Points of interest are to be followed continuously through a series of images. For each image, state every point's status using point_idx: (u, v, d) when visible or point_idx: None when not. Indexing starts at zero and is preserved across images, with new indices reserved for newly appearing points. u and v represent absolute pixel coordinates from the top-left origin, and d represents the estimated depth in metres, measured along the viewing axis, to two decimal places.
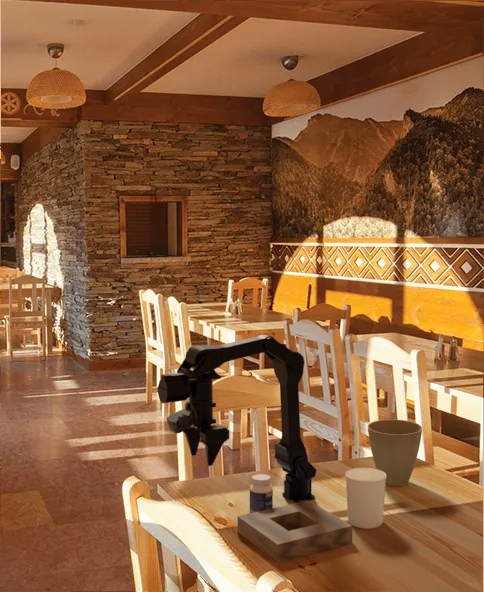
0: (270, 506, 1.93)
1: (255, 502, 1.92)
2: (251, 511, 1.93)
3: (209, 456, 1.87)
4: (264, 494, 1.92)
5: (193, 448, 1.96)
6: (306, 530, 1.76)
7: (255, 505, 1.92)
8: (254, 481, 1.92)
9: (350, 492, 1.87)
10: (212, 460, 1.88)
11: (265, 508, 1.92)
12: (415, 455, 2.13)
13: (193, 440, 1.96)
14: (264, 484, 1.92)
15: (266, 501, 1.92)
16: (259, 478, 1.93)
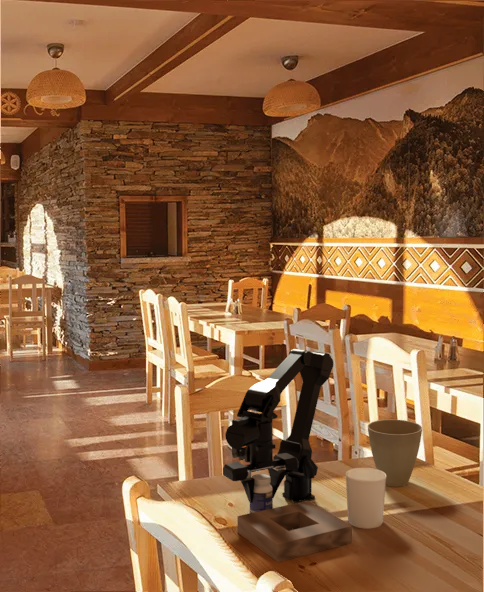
0: (270, 506, 1.93)
1: (255, 502, 1.92)
2: (251, 511, 1.93)
3: (245, 491, 1.93)
4: (264, 494, 1.92)
5: None
6: (306, 530, 1.76)
7: (255, 505, 1.92)
8: (254, 481, 1.92)
9: (350, 492, 1.87)
10: (249, 497, 1.92)
11: (265, 508, 1.92)
12: (415, 455, 2.13)
13: (272, 483, 1.95)
14: (264, 484, 1.92)
15: (266, 501, 1.92)
16: (259, 478, 1.93)
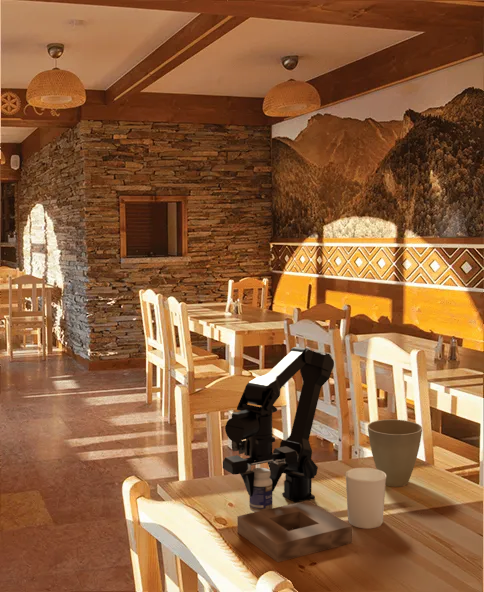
0: (270, 499, 1.93)
1: (255, 496, 1.92)
2: (251, 504, 1.93)
3: (245, 485, 1.93)
4: (264, 487, 1.91)
5: None
6: (306, 530, 1.76)
7: (255, 499, 1.92)
8: None
9: (350, 492, 1.87)
10: (248, 491, 1.92)
11: (265, 501, 1.92)
12: (415, 455, 2.13)
13: (272, 476, 1.95)
14: (264, 478, 1.92)
15: (265, 494, 1.92)
16: (259, 471, 1.93)
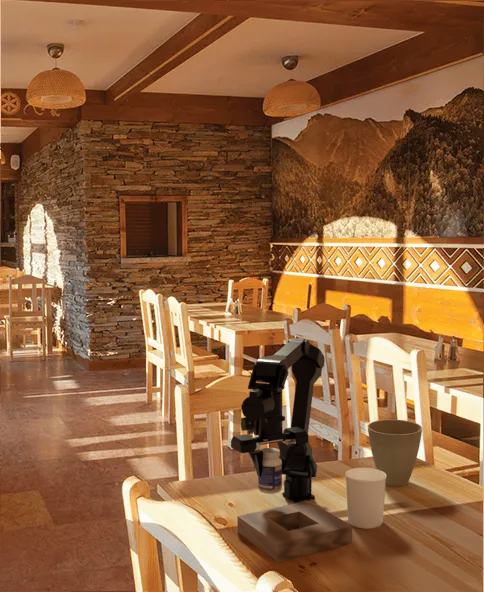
0: (279, 480, 1.88)
1: (263, 476, 1.87)
2: (260, 485, 1.88)
3: (254, 465, 1.88)
4: (273, 467, 1.86)
5: None
6: (306, 530, 1.76)
7: (264, 479, 1.87)
8: None
9: (350, 492, 1.87)
10: (257, 471, 1.87)
11: (274, 482, 1.87)
12: (415, 455, 2.13)
13: (281, 457, 1.90)
14: (273, 458, 1.87)
15: (275, 475, 1.87)
16: (268, 451, 1.88)
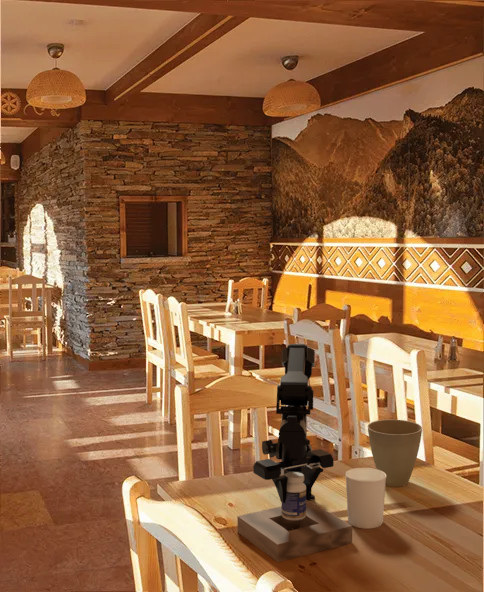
0: (304, 506, 1.79)
1: (288, 502, 1.79)
2: (283, 511, 1.80)
3: (277, 491, 1.79)
4: (298, 493, 1.78)
5: None
6: (306, 530, 1.76)
7: (288, 505, 1.79)
8: None
9: (350, 492, 1.87)
10: (281, 497, 1.79)
11: (299, 508, 1.79)
12: (415, 455, 2.13)
13: (305, 481, 1.82)
14: (298, 483, 1.78)
15: (299, 501, 1.78)
16: (292, 476, 1.80)
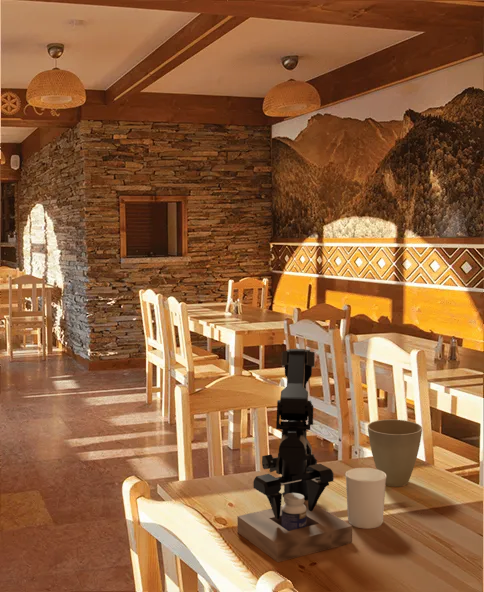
0: None
1: (288, 523, 1.79)
2: None
3: (271, 507, 1.79)
4: (298, 515, 1.79)
5: (310, 503, 1.83)
6: (306, 530, 1.76)
7: (288, 527, 1.79)
8: (286, 501, 1.79)
9: (350, 492, 1.87)
10: (275, 513, 1.78)
11: None
12: (415, 455, 2.13)
13: (311, 495, 1.83)
14: (298, 504, 1.79)
15: (299, 522, 1.79)
16: (292, 497, 1.80)
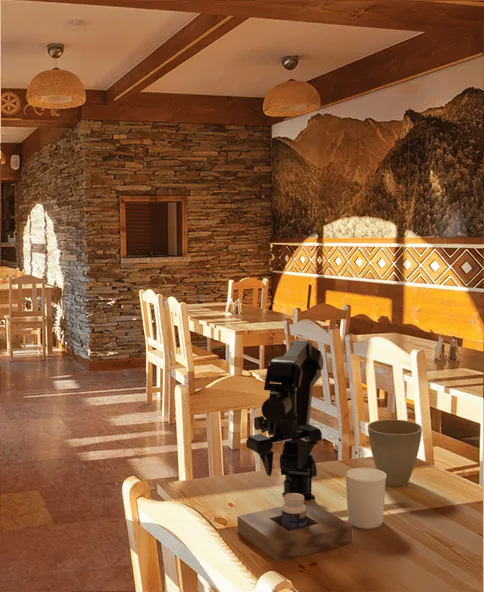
0: None
1: (288, 523, 1.79)
2: None
3: (264, 465, 1.90)
4: (298, 515, 1.79)
5: (299, 461, 1.94)
6: (306, 530, 1.76)
7: (288, 527, 1.79)
8: (286, 501, 1.79)
9: (350, 492, 1.87)
10: (267, 471, 1.89)
11: None
12: (415, 455, 2.13)
13: (300, 453, 1.94)
14: (298, 504, 1.79)
15: (299, 522, 1.79)
16: (292, 497, 1.80)
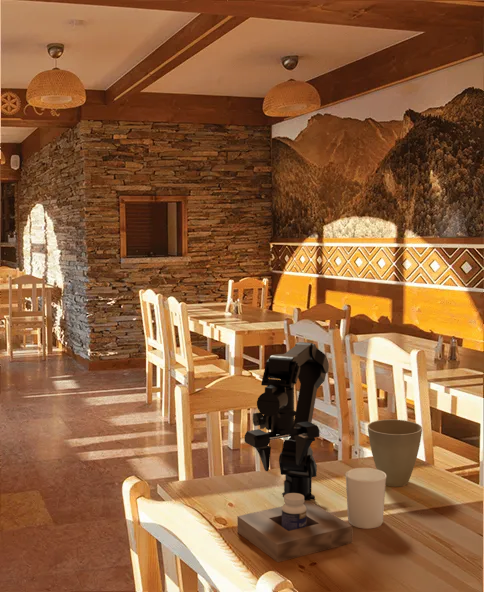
0: None
1: (288, 523, 1.79)
2: None
3: (261, 460, 1.92)
4: (298, 515, 1.79)
5: (297, 457, 1.96)
6: (306, 530, 1.76)
7: (288, 527, 1.79)
8: (286, 501, 1.79)
9: (350, 492, 1.87)
10: (265, 466, 1.91)
11: None
12: (415, 455, 2.13)
13: (298, 450, 1.96)
14: (298, 504, 1.79)
15: (299, 522, 1.79)
16: (292, 497, 1.80)
